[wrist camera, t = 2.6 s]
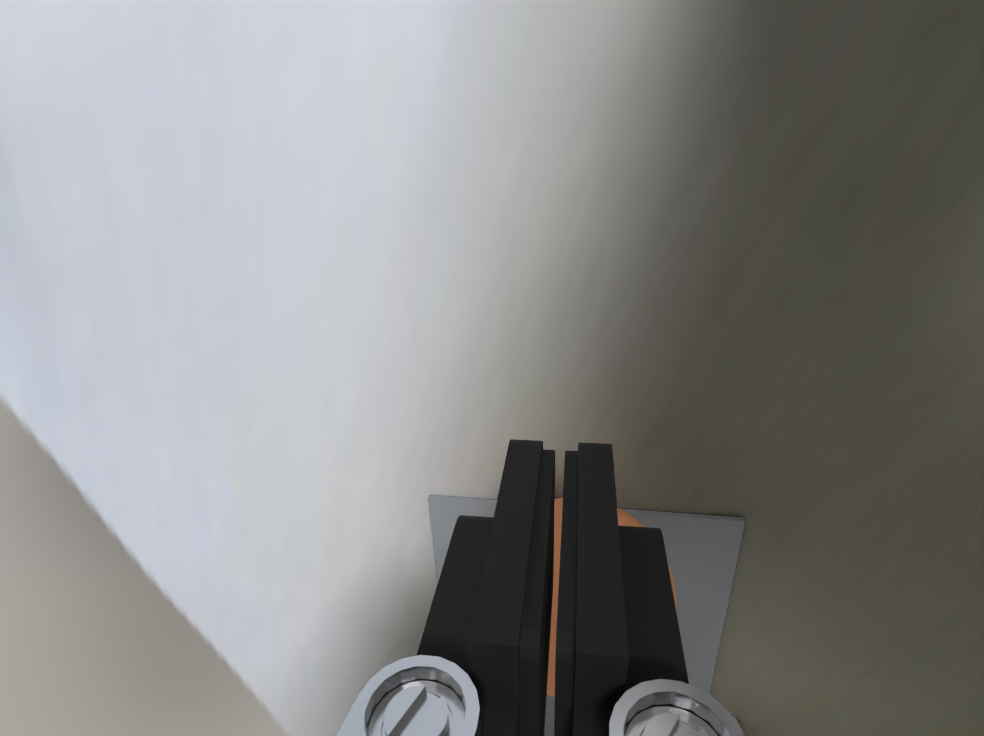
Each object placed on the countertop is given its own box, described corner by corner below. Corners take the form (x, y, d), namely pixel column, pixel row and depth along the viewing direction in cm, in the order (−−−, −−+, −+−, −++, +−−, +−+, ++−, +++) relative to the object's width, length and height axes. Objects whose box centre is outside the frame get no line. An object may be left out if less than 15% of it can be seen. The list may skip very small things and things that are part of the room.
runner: (429, 495, 22) (428, 498, 21) (744, 517, 20) (745, 521, 20) (470, 852, 33) (469, 856, 33) (668, 885, 32) (669, 889, 32)
